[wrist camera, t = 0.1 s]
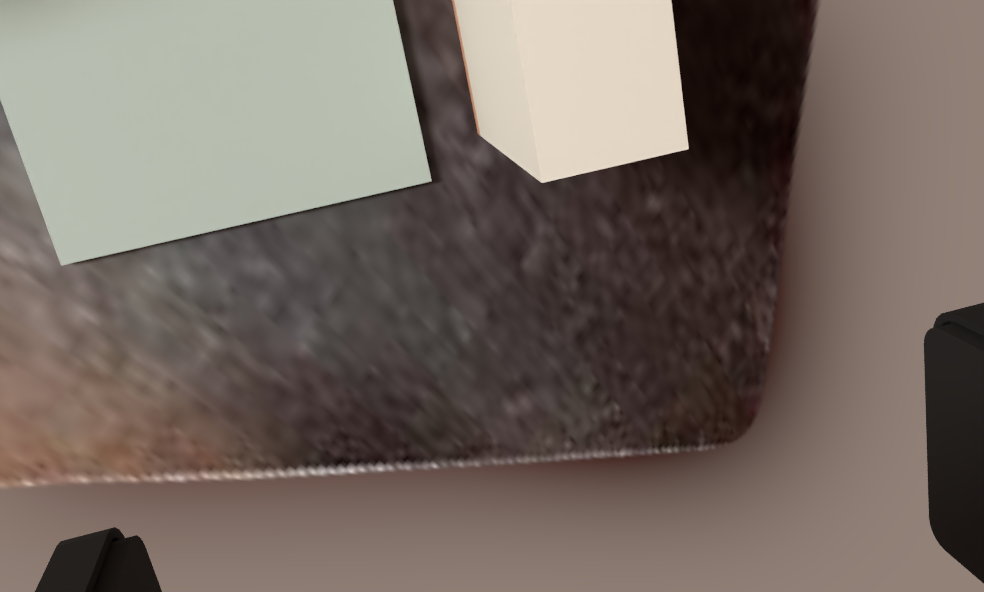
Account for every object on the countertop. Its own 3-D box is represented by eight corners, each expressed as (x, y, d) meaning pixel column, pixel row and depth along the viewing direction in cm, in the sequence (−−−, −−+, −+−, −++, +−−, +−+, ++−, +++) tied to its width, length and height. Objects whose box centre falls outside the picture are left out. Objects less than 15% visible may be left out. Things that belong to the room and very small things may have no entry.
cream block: (446, -31, 38) (502, -47, 27) (560, -54, 39) (662, -79, 27) (478, 133, 40) (541, 183, 29) (585, 110, 41) (688, 149, 30)
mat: (-44, -33, 35) (-48, -33, 34) (368, -110, 37) (368, -112, 36) (64, 262, 39) (61, 265, 38) (430, 179, 41) (431, 181, 40)
